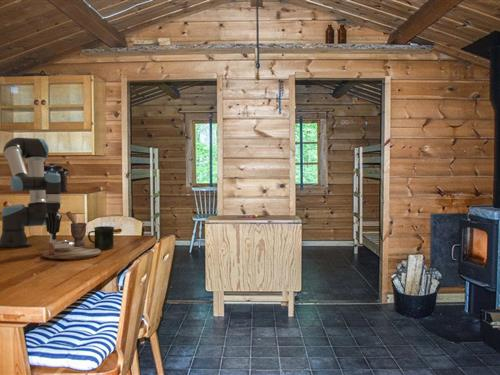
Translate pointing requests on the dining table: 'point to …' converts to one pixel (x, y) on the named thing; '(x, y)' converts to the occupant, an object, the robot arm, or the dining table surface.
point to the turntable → (71, 253)
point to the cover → (64, 246)
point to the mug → (103, 237)
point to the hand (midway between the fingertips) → (52, 245)
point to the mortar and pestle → (77, 230)
